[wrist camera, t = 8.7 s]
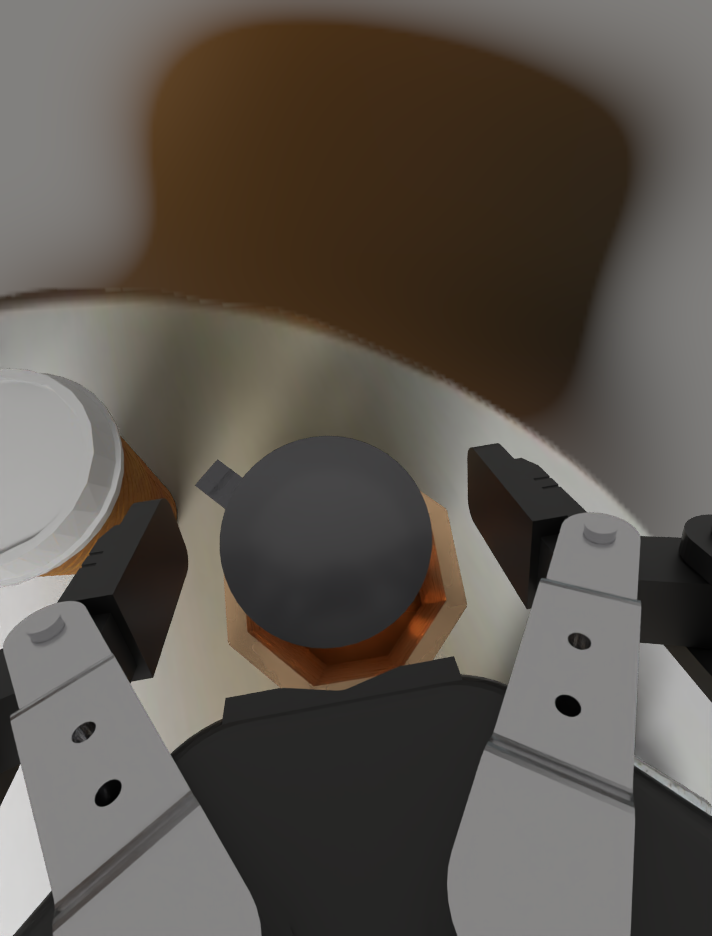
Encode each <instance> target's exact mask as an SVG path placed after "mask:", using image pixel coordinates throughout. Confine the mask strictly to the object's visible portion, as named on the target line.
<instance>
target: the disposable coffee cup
mask: <svg viewBox="0 0 712 936" xmlns="http://www.w3.org/2000/svg"><path fill="white" fill-rule="evenodd" d="M162 498H165V499H167V500H168V502H169V503H170V505H171V508H172V510H173V513H174V516H175V519H176V521H177V510H176V505H175V501H174V499H173V497H172V495H171V493H170V492H169V491H168V489H167V488H166V487H165V486H164V485H163V484H162V483H161V482H160V480H159V479H158V478H157V477H156V476H155V475H154V474H153V472H152V471H151V470H150V469H149V468H148V467H147V465H146V464H145V463H144V462H143V461H142V459H141V458H140V457H139V456H138V455H137V454H136V453H135V452H134V451H133V450H132V448H131V447H130V446H129V445H128V444H127V443H126V442H125V441H124V439H123V438H122V437H121V436H120V434H119V430H118V427H117V425H116V423H115V421H114V420H113V418H112V416H111V414H110V413H109V411H108V409H107V407H106V406H105V405H104V404H103V403H102V402H101V401H100V400H99V399H98V398H97V397H96V396H95V395H94V394H93V393H92V392H90V391H89V390H87V389H86V388H84V387H83V386H81V385H80V384H78V383H76V382H74V381H71V380H69V379H66V378H64V377H60V376H55V375H51V374H44V373H37V372H34V371H30V370H24V369H11V368H6V369H0V587H6V586H13V585H17V584H19V583H22V582H24V581H27V580H30V579H32V578H35V577H38V576H43V577H44V576H55V575H70V574H76V573H77V571H78V570H79V568H82V566H81V565H82V563H83V562H84V560H85V559H86V557H87V556H89V553H90V551H91V550H92V548H93V546H94V545H95V543H96V542H97V540H98V539H99V538H100V537H101V536H103V535H104V534H105V533H106V532H107V531H109V530H110V529H111V528H112V527H113V526H115V525H120V524H121V522H122V520H123V519H124V517H125V515H126V514H127V512H128V510H129V509H130V507H131V506H132V504H133V503H137V502H143V501H149V500H156V499H162Z"/></svg>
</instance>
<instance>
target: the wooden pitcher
mask: <svg viewBox="0 0 712 936" xmlns="http://www.w3.org/2000/svg"><path fill="white" fill-rule="evenodd" d="M241 480H242V477H240V476H239V475H238V474H236V473H235V472H234V471H232V470H231V469H230V468H228V467H227V466H226V465H224V464H223V463H222V462H220V461H219V460H218V459H217V461H216V462H215V463H214V464H213V465H212V466H211V467H210V469H209V470H208V471H207V472H206V473H205V474H204V475H203V477H202V478H201V479H200V480H199V481H198V482H197V484H196V485H195V486H197V487H198V488H199V489H200V490H202V491H203V492H204V493H205V494H207V495H208V496H209V497H210V498H212V499H213V500H214V501H215V502H217V503H218V504H219V505H221V506H222V507H223V508H224V509H226V507H227V505H228V502H229V500H230V497H231V495H232V494H233V492H234V490H235V488H236V487H237V485H238V484H239V482H240V481H241ZM420 492H421V491H420ZM421 494H422V496H423V498H424V501H425V503H426V506H427V509H428V513H429V517H430V522H431V529H432V551H431V558H430V563H429V567H428V571H427V574H426V577H425V579H424V582H423V584H422V587H421V589H420V590H419V592H418V594H417V595H416V597H415V599H414V601H413V602H412V603H411V604H410V606H409V607H408V608H407V610H406V611H405V612H404V613H403V614H402V615H401V616H400V617H399V618H398V619H397V620H396V621H395V622H394V623H392V624H391V625H390V626H388V627H387V628H386V629H384V630H383V631H382V632H380V633H378V634H376V635H374V636H372V637H371V638H369V639H366V640H363V641H361V642H358V643H356V644H352V645H347V646H343V647H336V648H310V647H305V646H300V645H295V644H293V643H290V642H287V641H284V640H281V639H280V638H278V637H276V636H274V635H272V634H270V633H268V632H267V631H265V630H264V629H263V628H261V627H260V626H258V625H257V624H256V623H255V622H254V621H253V620H252V619H251V618H250V617H249V616H248V615H247V614H246V613H245V612H244V611H243V609H242V608H241V607H240V606H239V604H238V603H237V601H236V599H235V598H234V596H233V594H232V593H231V591H230V589H229V586H228V584H227V581H226V579H225V576H224V586H225V602H226V618H227V633H228V643H229V642H230V643H229V645H230V646H231V647H233V648H234V649H235V650H236V651H237V652H239V653H240V654H241V655H242V656H243V657H244V658H246V659H247V660H248V661H249V662H250V663H252V664H253V665H254V666H255V667H256V668H258V669H259V670H260V671H261V672H262V673H263V674H265V675H266V676H267V677H268V678H269V679H271V680H272V681H273V682H274V683H275V684H277V685H278V686H279V687H280V688H298V689H317V690H345V689H348V688H350V687H352V686H355V685H357V684H359V683H362V682H364V681H366V680H369V679H371V678H373V677H376V676H378V675H380V674H383V673H385V672H387V671H389V670H392V669H394V668H396V667H399V666H404V665H410V664H415V663H421V662H426V661H432V660H433V659H434V657H435V656H436V654H437V653H438V651H439V649H440V648H441V646H442V645H443V643H444V642H445V640H446V638H447V637H448V635H449V634H450V632H451V631H452V629H453V627H454V626H455V624H456V623H457V621H458V620H459V618H460V617H461V615H462V613H463V612H464V610H465V609H466V607H467V606H466V605H467V602H466V597H465V592H464V588H463V583H462V578H461V574H460V569H459V564H458V560H457V555H456V550H455V546H454V541H453V536H452V532H451V527H450V522H449V518H448V513H447V510H446V508H444V507H443V506H441V505H440V504H438V503H437V502H435V501H434V500H433V499H431V498H430V497H428V496H427V495H425V494H424V493H422V492H421Z"/></svg>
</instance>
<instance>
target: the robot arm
mask: <svg viewBox="0 0 712 936" xmlns="http://www.w3.org/2000/svg"><path fill="white" fill-rule="evenodd" d="M467 461H468V505H469V510H470V514H471V517H472V520H473V522H474V523H475V525H476V527H477V528H478V530H479V532H480V533H481V535H482V537H483V538H484V540H485V541H486V543H487V545H488V546H489V548H490V550H491V551H492V553H493V555H494V556H495V558H496V559H497V561H498V563H499V564H500V566H501V568H502V569H503V571H504V573H505V574H506V576H507V577H508V579H509V581H510V582H511V584H512V586H513V587H514V589H515V591H516V592H517V594H518V595H519V597H520V599H521V600H522V602H523V604H524V605H525V607H526V609H531V611H530V615H529V618H528V621H527V624H526V628H525V631H524V634H523V638H522V641H521V644H520V647H519V651H518V654H517V657H516V660H515V664H514V667H513V670H512V674H511V677H510V680H509V683H508V685H506V684H503V683H501V682H498V681H495V680H491V679H487V678H484V677H478V676H472V675H462V674H460V672H459V669H458V666H457V664H456V661H455V658H454V656H453V657H448V658H442V659H437V660H432V661H426V662H421V663H415V664H410V665H404V666H399V667H396V668H394V669H392V670H389V671H387V672H385V673H383V674H380V675H378V676H376V677H373V678H371V679H369V680H366V681H364V682H362V683H359V684H357V685H355V686H352V687H350V688H348V689H345V690H317V689H298V688H278V689H273V690H267V691H262V692H257V693H251V694H246V695H240V696H235V697H229V698H226V700H225V706H224V713H223V719H221V720H219V721H217V722H215V723H213V724H211V725H209V726H207V727H206V728H204V729H202V730H201V731H199V732H198V733H196V734H195V735H193V736H192V737H190V738H189V739H187V740H186V741H185V742H184V743H183V744H181V745H180V746H179V747H178V748H176V749H175V750H174V751H173V752H172V753H171V754H170V753H169V751H168V749H167V748H166V746H165V744H164V742H163V741H162V739H161V737H160V735H159V734H158V732H157V730H156V728H155V727H154V725H153V723H152V721H151V719H150V718H149V716H148V714H147V712H146V711H145V709H144V707H143V705H142V704H141V702H140V700H139V698H138V697H137V695H136V693H135V691H134V690H133V688H132V686H131V684H130V683H131V682H132V681H137V680H143V679H148V678H153V676H154V673H155V670H156V667H157V664H158V661H159V658H160V655H161V652H162V648H163V645H164V642H165V639H166V636H167V633H168V630H169V627H170V624H171V621H172V618H173V614H174V611H175V608H176V605H177V602H178V599H179V596H180V593H181V590H182V587H183V583H184V580H185V577H186V574H187V571H188V554H187V549H186V546H185V543H184V540H183V538H182V535H181V532H180V530H179V527H178V524H177V521H176V519H175V516H174V513H173V510H172V508H171V505H170V503H169V502H168V500H167V499H165V498H162V499H156V500H149V501H143V502H137V503H133V504H132V506H131V507H130V509H129V510H128V512H127V514H126V515H125V517H124V519H123V520H122V522H121V524H120V525H115V526H113V527H112V528H111V529H110V530H109V531H107V532H106V533H105V534H104V535H103V536H101V537H100V538H99V539H98V540H97V542H96V543H95V545H94V546H93V548H92V550H91V551H90V553H89V556H87V557H86V559H85V560H84V562H83V563H82V565H81V566H82V568H79V570H78V571H77V573H76V574H75V576H74V577H73V579H72V580H71V582H70V584H69V585H68V587H67V588H66V590H65V591H64V593H63V594H62V596H61V597H60V599H59V600H58V602H57V603H56V604H52V605H49V606H47V607H44V608H42V609H40V610H38V611H36V612H35V613H33V614H31V615H30V616H28V617H27V618H25V619H24V620H22V621H21V622H20V623H19V624H18V625H17V626H15V627H14V628H13V630H12V631H11V632H10V633H9V635H8V636H7V637H6V639H5V641H4V645H3V649H1V650H0V806H1V803H2V801H3V799H4V797H5V795H6V793H7V791H8V789H9V787H10V785H11V783H12V781H13V779H14V777H15V774H16V772H17V770H18V768H19V766H20V764H21V767H22V771H23V775H24V779H25V783H26V787H27V791H28V795H29V799H30V804H31V808H32V812H33V816H34V820H35V824H36V828H37V832H38V836H39V840H40V844H41V849H42V853H43V857H44V861H45V865H46V869H47V873H48V877H49V881H50V885H51V889H52V891H51V892H50V893H49V894H48V896H47V897H46V898H45V899H44V900H43V901H42V902H41V904H40V905H39V906H38V907H37V908H36V909H35V911H34V912H33V913H32V914H31V915H30V916H29V918H28V919H27V920H26V921H25V922H24V923H23V925H22V926H21V927H20V928H19V929H18V930H17V932H16V933H15V934H14V935H13V936H712V816H711V815H709V814H708V813H706V812H705V811H703V810H701V809H700V808H698V807H697V806H695V805H694V804H692V803H691V802H689V801H688V800H686V799H685V798H683V797H682V796H680V795H679V794H677V793H676V792H674V791H673V790H671V789H670V788H668V787H667V786H665V785H664V784H662V783H661V782H659V781H657V780H656V779H654V778H653V777H651V776H650V775H648V774H647V773H645V772H644V771H642V770H641V769H639V768H638V767H636V766H635V765H634V749H635V728H636V707H637V686H638V665H639V644H640V643H651V644H662V645H664V646H665V647H666V648H667V649H668V651H669V652H670V653H671V654H672V655H673V657H674V658H675V659H676V660H677V661H678V663H679V664H680V665H681V666H682V667H683V669H684V670H685V671H686V672H687V673H688V675H689V676H690V677H691V678H692V679H693V681H694V682H695V683H696V684H697V685H698V687H699V688H700V689H701V690H702V691H703V693H704V694H705V695H706V696H707V697H708V699H709V700H710V701H711V702H712V515H701V516H696V517H693V518H691V519H690V520H688V521H687V522H686V524H685V526H684V530H683V534H682V538H672V537H647V536H640V535H639V532H638V531H637V530H636V528H635V527H633V526H632V525H631V524H629V523H628V522H626V521H624V520H622V519H620V518H618V517H615V516H612V515H608V514H603V513H587V512H586V511H585V510H584V509H583V508H582V507H581V506H580V505H579V504H578V503H577V502H576V501H575V500H574V499H573V498H572V497H571V496H570V495H569V494H568V493H566V492H565V491H564V490H563V489H562V488H561V487H558V484H557V483H556V482H555V481H554V480H553V479H552V478H549V475H548V474H547V473H546V472H545V471H544V470H543V469H542V468H541V467H539V466H538V465H536V464H534V463H532V462H529V461H527V460H525V459H523V458H518V459H514V458H513V457H512V456H511V455H510V454H509V453H508V452H507V451H506V450H505V449H504V448H503V447H502V446H501V445H500V444H498V443H496V444H490V445H484V446H478V447H472V448H469V450H468V458H467Z"/></svg>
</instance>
